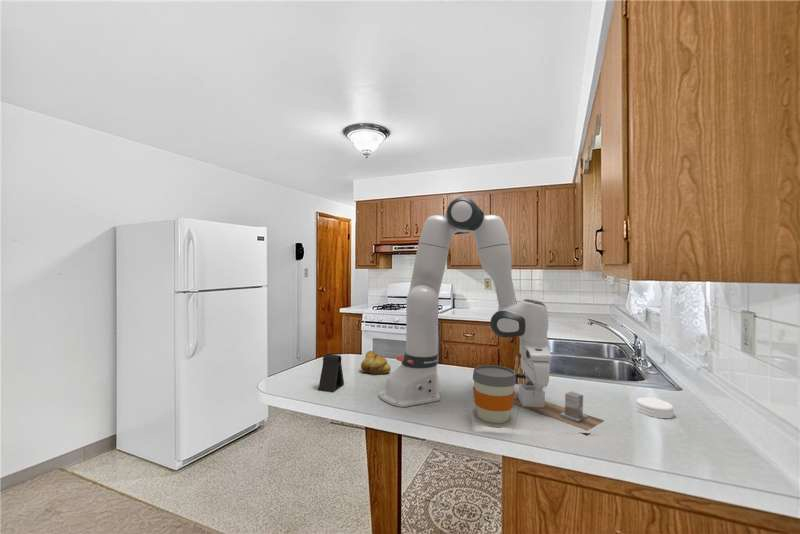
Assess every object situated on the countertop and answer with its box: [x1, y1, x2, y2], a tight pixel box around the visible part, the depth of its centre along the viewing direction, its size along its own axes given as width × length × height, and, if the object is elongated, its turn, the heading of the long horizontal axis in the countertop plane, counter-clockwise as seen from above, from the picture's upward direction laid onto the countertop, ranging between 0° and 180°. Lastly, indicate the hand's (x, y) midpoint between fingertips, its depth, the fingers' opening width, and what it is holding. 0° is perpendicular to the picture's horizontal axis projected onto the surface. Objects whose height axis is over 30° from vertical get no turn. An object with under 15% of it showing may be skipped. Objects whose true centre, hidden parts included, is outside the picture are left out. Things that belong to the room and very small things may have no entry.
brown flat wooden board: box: [513, 391, 605, 437], centre depth 115 cm, size 11×26×8 cm, turn 39°
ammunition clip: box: [513, 355, 544, 389], centre depth 139 cm, size 11×2×12 cm, turn 67°
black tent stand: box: [317, 353, 345, 393], centre depth 135 cm, size 9×6×12 cm, turn 164°
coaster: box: [635, 396, 675, 419], centre depth 119 cm, size 10×10×4 cm
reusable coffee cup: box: [472, 364, 517, 429], centre depth 109 cm, size 13×13×15 cm
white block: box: [518, 383, 546, 408], centre depth 121 cm, size 7×7×6 cm
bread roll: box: [360, 350, 391, 375], centre depth 155 cm, size 13×10×8 cm
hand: (533, 391), depth 121 cm, fingers open, 8 cm apart
